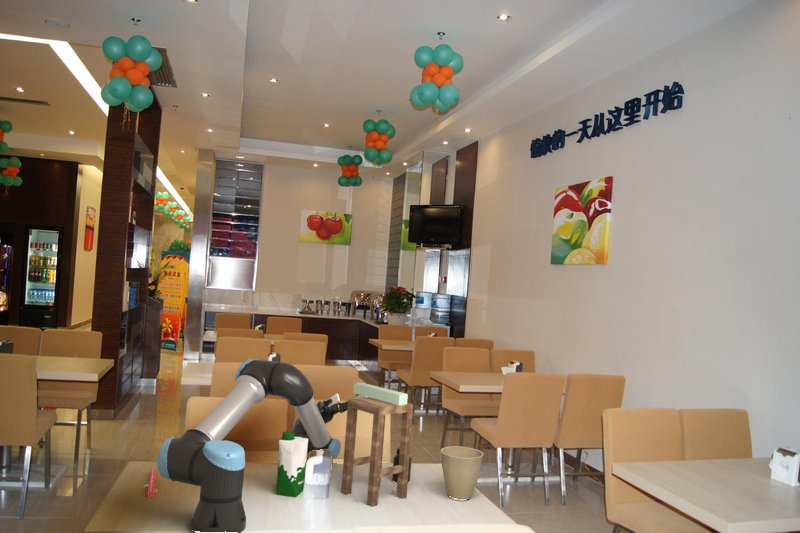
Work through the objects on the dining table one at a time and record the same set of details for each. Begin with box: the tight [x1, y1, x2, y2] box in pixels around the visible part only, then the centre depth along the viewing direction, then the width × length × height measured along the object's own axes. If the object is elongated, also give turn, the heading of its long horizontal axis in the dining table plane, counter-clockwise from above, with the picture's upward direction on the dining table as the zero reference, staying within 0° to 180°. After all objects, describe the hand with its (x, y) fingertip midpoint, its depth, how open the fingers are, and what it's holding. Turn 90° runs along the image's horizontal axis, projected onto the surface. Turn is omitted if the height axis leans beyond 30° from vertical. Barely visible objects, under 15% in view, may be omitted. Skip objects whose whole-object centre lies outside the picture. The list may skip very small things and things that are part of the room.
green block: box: [353, 382, 409, 405], centre depth 217 cm, size 24×4×4 cm, turn 44°
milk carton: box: [275, 430, 308, 498], centre depth 206 cm, size 9×9×20 cm
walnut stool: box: [340, 397, 414, 508], centre depth 210 cm, size 16×16×32 cm
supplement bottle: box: [391, 446, 413, 483], centre depth 227 cm, size 7×7×12 cm
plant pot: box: [440, 446, 484, 499], centre depth 214 cm, size 15×15×16 cm
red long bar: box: [143, 469, 159, 499], centre depth 204 cm, size 24×2×5 cm
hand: (352, 396), depth 228 cm, fingers open, 13 cm apart
